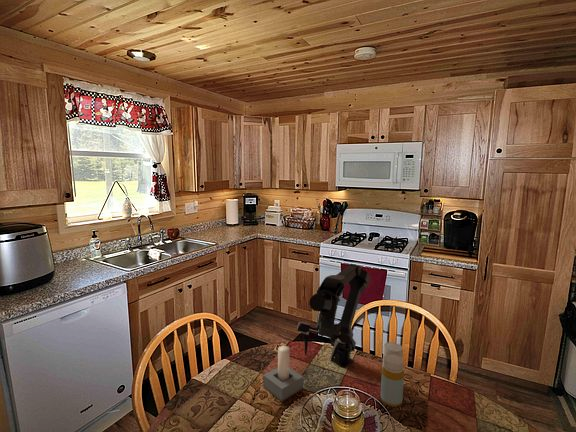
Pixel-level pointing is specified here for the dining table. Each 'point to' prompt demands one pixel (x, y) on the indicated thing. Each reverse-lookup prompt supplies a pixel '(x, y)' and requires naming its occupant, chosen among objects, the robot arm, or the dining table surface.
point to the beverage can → (392, 350)
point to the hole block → (282, 384)
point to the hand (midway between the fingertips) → (318, 357)
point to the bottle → (392, 380)
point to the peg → (283, 363)
